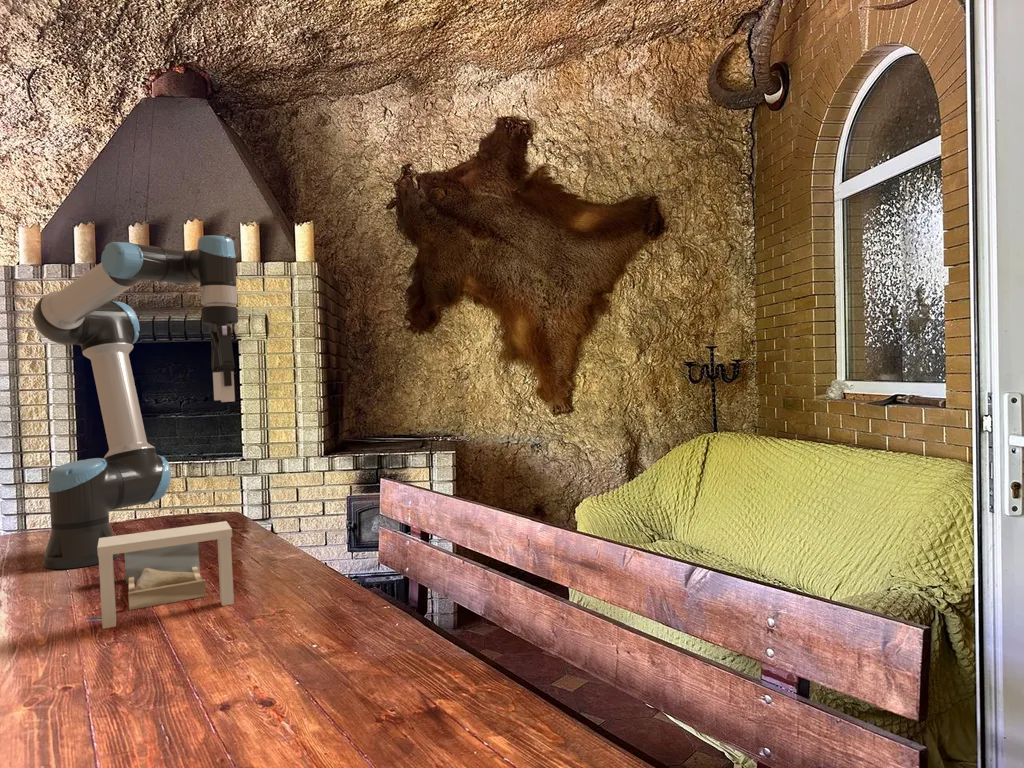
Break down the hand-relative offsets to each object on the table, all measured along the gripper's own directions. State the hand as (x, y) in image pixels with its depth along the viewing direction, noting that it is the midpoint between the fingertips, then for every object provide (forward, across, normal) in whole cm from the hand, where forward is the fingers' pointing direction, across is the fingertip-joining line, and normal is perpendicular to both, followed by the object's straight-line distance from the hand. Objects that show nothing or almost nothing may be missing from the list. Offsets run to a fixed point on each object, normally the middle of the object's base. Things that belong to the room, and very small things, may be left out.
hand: (224, 401), depth 155 cm
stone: (+36, +15, -14) cm, 42 cm away
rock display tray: (+37, +11, -14) cm, 41 cm away
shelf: (+37, +29, -14) cm, 49 cm away
